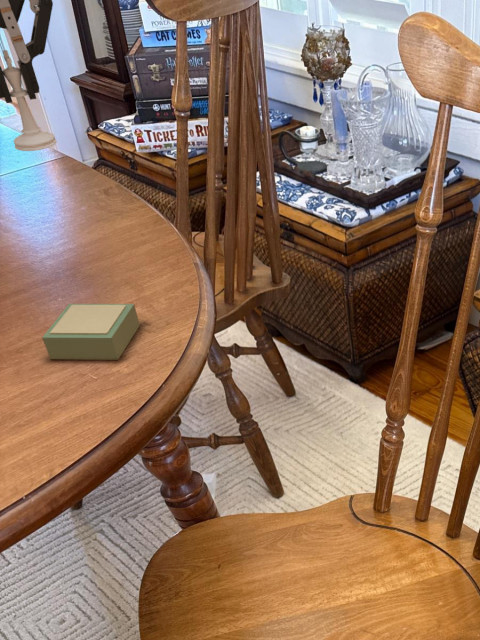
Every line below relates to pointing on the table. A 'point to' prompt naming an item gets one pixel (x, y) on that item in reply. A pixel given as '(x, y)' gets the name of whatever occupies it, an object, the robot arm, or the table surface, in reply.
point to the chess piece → (25, 114)
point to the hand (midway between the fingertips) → (20, 99)
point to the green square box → (92, 331)
